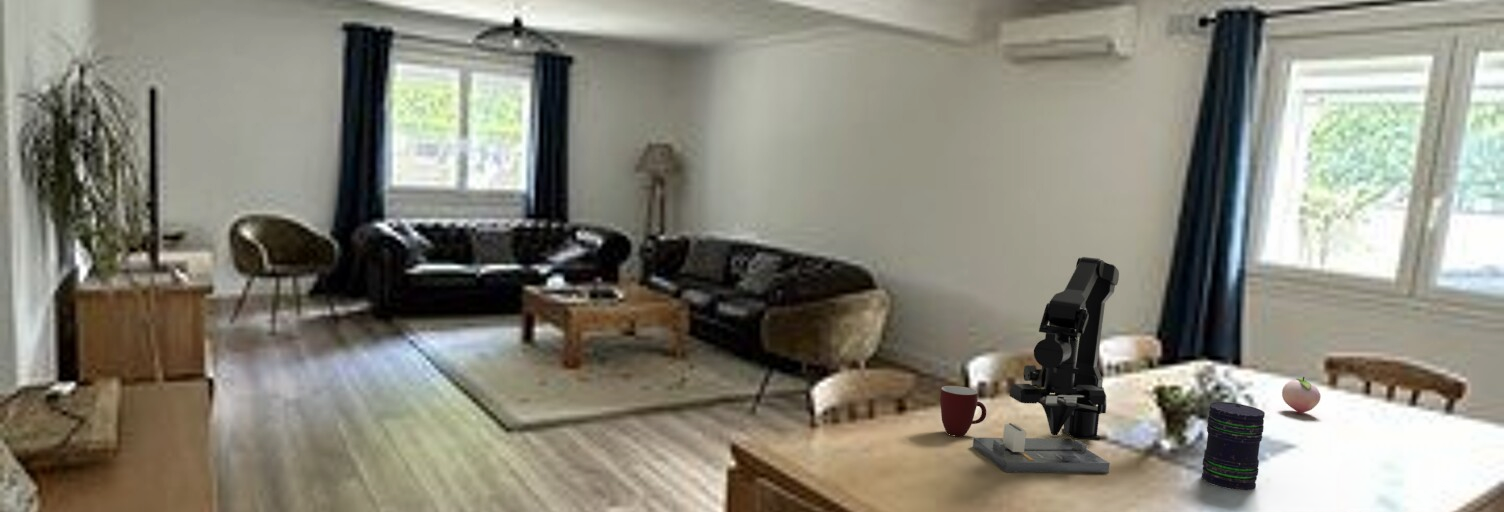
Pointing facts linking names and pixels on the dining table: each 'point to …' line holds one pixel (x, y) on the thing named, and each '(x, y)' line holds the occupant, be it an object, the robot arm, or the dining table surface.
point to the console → (1042, 456)
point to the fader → (1014, 437)
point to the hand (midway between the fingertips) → (1053, 434)
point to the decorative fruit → (1300, 395)
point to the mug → (959, 409)
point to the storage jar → (1233, 446)
